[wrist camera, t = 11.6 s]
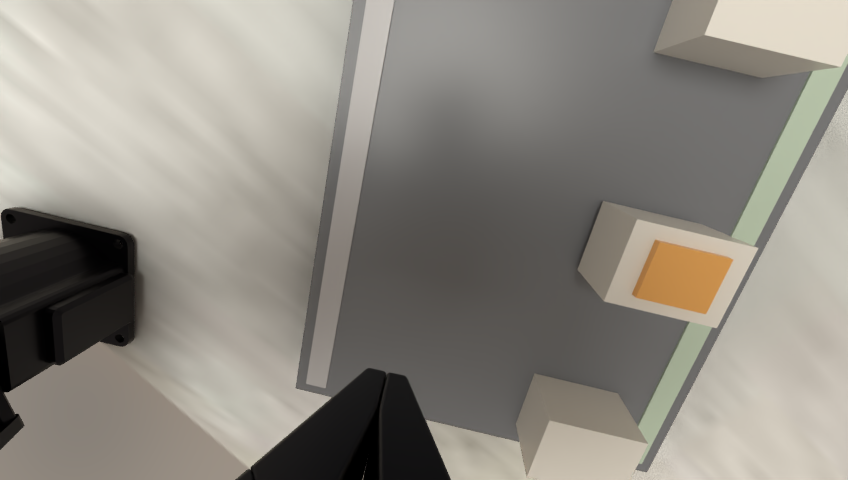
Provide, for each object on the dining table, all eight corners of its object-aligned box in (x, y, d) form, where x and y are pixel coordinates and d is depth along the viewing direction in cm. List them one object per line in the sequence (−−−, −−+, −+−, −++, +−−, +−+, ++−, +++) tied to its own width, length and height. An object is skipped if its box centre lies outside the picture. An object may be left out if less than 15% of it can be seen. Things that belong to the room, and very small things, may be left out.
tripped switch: (577, 269, 16) (606, 305, 13) (603, 201, 15) (641, 221, 12) (670, 291, 16) (722, 332, 13) (701, 224, 15) (765, 250, 12)
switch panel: (309, 364, 21) (268, 434, 17) (386, -120, 15) (354, -234, 10) (629, 440, 21) (680, 533, 17) (850, -11, 15) (1040, -73, 10)
